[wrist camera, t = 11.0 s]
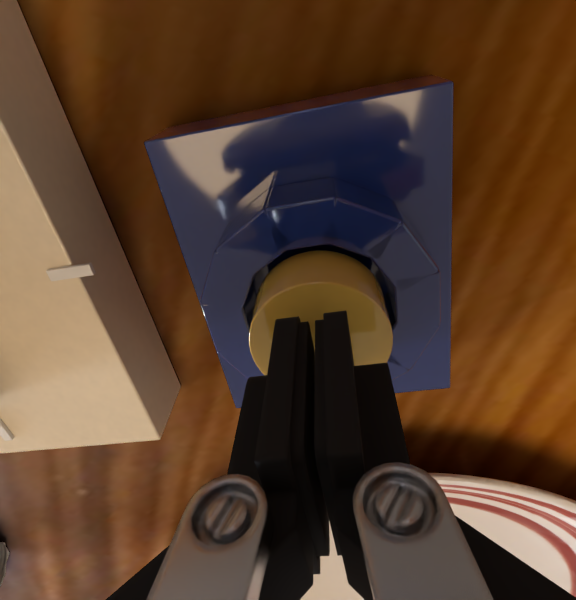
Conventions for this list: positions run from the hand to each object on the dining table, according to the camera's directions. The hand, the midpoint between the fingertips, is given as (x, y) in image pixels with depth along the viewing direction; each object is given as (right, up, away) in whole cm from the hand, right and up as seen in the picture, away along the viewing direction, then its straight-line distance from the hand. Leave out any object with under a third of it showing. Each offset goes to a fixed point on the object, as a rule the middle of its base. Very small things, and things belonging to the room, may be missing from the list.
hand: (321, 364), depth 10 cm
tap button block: (0, +3, +5) cm, 6 cm away
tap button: (0, +1, +2) cm, 2 cm away
